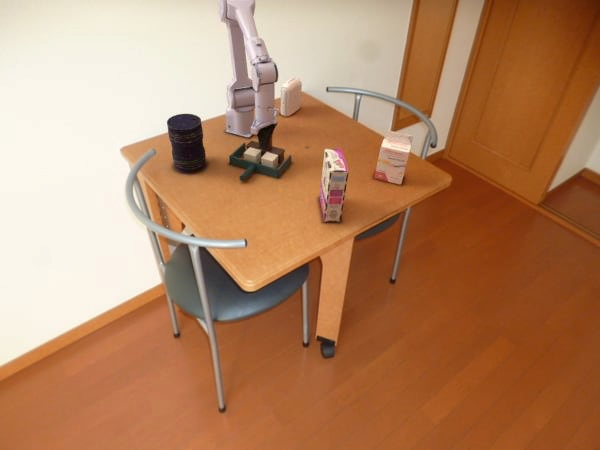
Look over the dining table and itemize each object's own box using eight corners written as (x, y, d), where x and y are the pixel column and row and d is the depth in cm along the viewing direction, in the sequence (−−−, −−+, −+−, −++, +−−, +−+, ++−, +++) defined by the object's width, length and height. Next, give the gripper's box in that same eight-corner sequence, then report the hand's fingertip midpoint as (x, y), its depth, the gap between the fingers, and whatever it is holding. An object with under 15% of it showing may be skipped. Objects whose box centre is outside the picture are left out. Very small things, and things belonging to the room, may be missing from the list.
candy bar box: (342, 222, 113) (349, 171, 102) (323, 222, 112) (329, 171, 102) (336, 197, 121) (342, 147, 110) (318, 197, 121) (323, 147, 110)
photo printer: (288, 117, 157) (289, 86, 149) (278, 114, 159) (279, 83, 151) (302, 108, 164) (303, 77, 156) (292, 105, 166) (294, 74, 158)
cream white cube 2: (261, 168, 131) (260, 157, 128) (266, 162, 133) (266, 151, 131) (272, 172, 130) (272, 161, 127) (278, 165, 132) (278, 154, 130)
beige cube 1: (244, 163, 132) (243, 153, 130) (250, 157, 135) (249, 147, 132) (255, 167, 131) (255, 156, 129) (261, 161, 134) (261, 150, 131)
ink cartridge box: (373, 179, 129) (382, 136, 119) (376, 170, 133) (385, 129, 123) (401, 185, 127) (411, 143, 118) (403, 176, 131) (414, 135, 121)
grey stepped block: (246, 154, 135) (245, 132, 130) (251, 149, 137) (250, 127, 132) (279, 164, 132) (280, 141, 126) (284, 158, 134) (285, 136, 129)
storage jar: (179, 176, 125) (171, 132, 116) (170, 160, 132) (162, 116, 122) (211, 169, 129) (206, 125, 119) (201, 154, 135) (195, 111, 126)
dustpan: (217, 175, 127) (217, 167, 125) (244, 150, 138) (244, 142, 136) (267, 190, 122) (267, 182, 120) (291, 163, 134) (291, 155, 132)
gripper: (265, 117, 117) (266, 158, 125) (287, 97, 127) (286, 137, 136) (243, 111, 118) (245, 153, 127) (266, 93, 129) (267, 132, 138)
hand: (265, 144), depth 132 cm, fingers closed on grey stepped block, 2 cm apart
